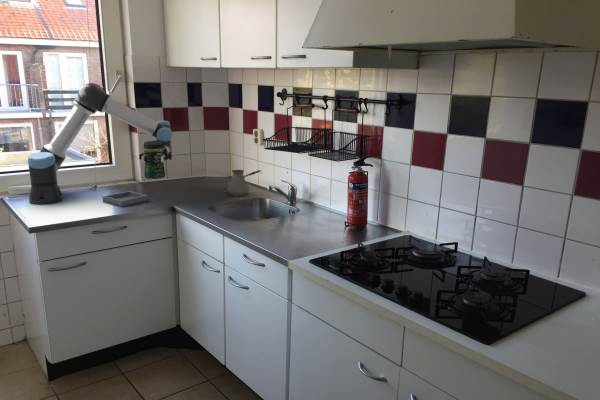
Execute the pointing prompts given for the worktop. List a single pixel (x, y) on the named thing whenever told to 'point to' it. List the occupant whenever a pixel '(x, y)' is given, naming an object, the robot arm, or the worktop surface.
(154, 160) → the coffee jar
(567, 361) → the worktop surface
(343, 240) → the worktop surface
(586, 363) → the worktop surface
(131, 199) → the grey shallow rectangular tray
